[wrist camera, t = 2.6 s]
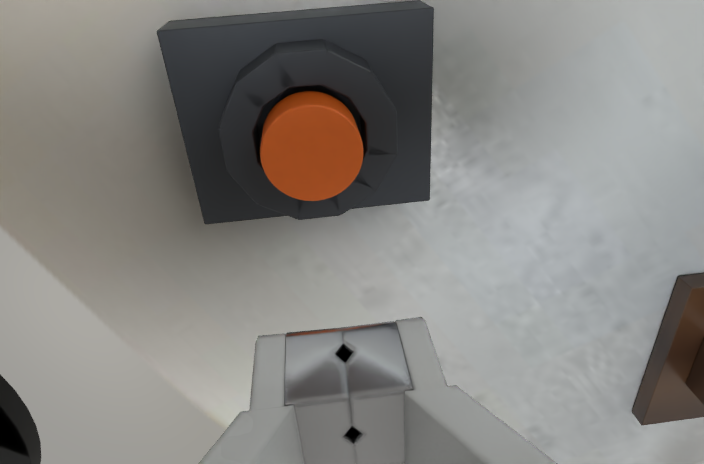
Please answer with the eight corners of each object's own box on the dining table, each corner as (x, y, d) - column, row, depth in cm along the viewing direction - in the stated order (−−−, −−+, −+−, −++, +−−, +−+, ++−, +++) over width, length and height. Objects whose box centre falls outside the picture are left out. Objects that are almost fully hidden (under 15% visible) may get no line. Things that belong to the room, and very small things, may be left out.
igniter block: (211, 201, 24) (198, 247, 20) (168, 20, 20) (143, 40, 16) (419, 179, 24) (440, 220, 21) (420, -1, 20) (447, 14, 17)
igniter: (269, 185, 20) (268, 206, 18) (254, 95, 18) (252, 110, 16) (360, 176, 20) (366, 196, 19) (355, 86, 18) (361, 100, 17)
